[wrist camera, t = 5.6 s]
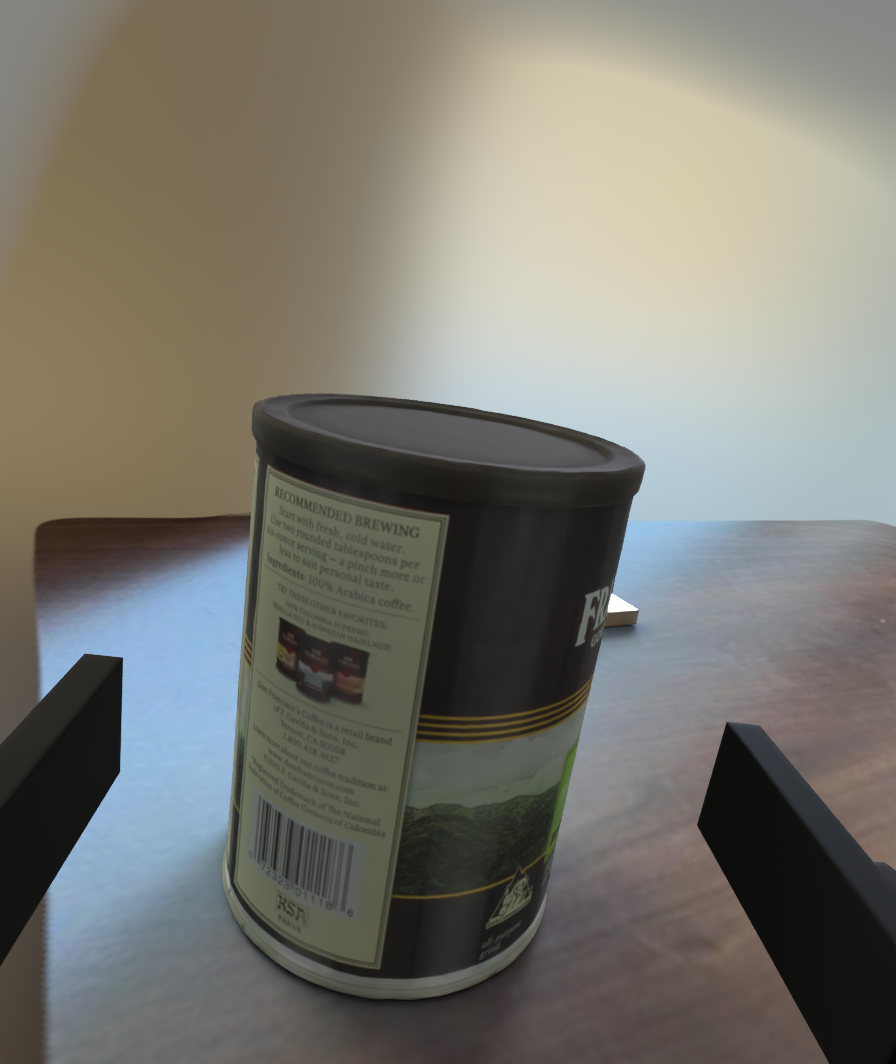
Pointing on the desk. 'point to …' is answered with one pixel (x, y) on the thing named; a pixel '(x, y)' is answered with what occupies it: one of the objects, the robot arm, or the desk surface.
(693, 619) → the desk surface
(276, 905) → the coffee can
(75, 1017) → the desk surface
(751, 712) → the desk surface
